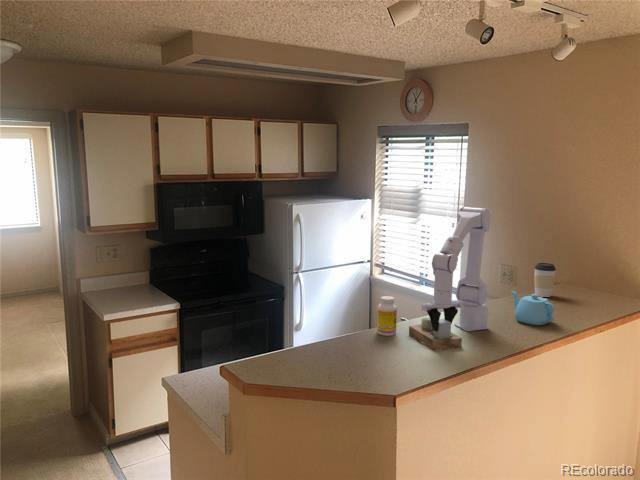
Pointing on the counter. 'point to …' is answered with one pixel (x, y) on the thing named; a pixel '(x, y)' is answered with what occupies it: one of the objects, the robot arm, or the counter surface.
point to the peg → (443, 329)
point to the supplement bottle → (387, 316)
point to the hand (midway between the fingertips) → (441, 329)
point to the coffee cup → (544, 279)
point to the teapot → (533, 309)
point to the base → (426, 336)
